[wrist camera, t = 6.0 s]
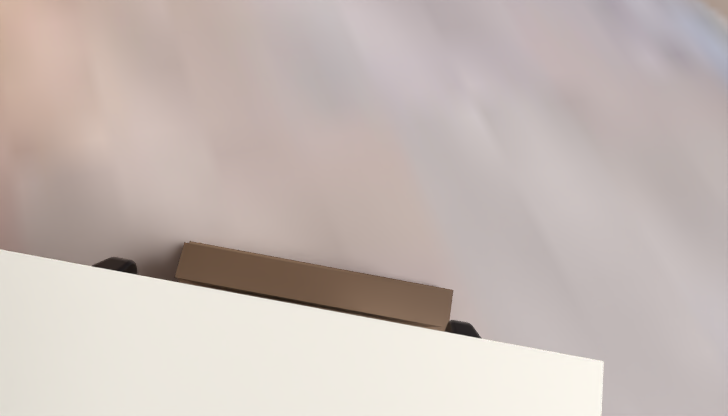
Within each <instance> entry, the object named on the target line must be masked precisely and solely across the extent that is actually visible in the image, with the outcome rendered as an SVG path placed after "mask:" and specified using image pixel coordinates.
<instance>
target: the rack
mask: <svg viewBox="0 0 728 416" xmlns="http://www.w3.org/2000/svg"><path fill="white" fill-rule="evenodd" d="M175 278H179V283H184V284H189V285H195V286H200V287H206V288H211V289H216V290H222V291H227V292H233V293H238V294H243V295H249V296H254V297H260V298H265V299H270V300H276V301H281V302H286V303H292V304H297V305H303V306H308V307H313V308H319V309H324V310H330V311H335V312H340V313H346V314H351V315H357V316H362V317H367V318H373V319H378V320H384V321H389V322H394V323H400V324H405V325H410V326H416V327H421V328H427V329H432V330H437V331H443V332H444V331H445V328H446V326H447V323H448V322H449V319H450V311H451V304H452V296H453V290H450V289H445V288H439V287H434V286H429V285H423V284H418V283H413V282H407V281H402V280H396V279H391V278H386V277H380V276H375V275H369V274H364V273H359V272H353V271H348V270H342V269H337V268H332V267H326V266H321V265H315V264H310V263H305V262H299V261H294V260H289V259H283V258H278V257H272V256H267V255H262V254H256V253H251V252H245V251H240V250H235V249H229V248H224V247H218V246H213V245H208V244H202V243H197V242H191V241H190V242H189V243H185V242H184V246H183V249H182V253H181V256H180V260H179V263H178V267H177V270H176V274H175Z"/></svg>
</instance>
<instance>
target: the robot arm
mask: <svg viewBox="0 0 728 416" xmlns="http://www.w3.org/2000/svg"><path fill="white" fill-rule="evenodd" d="M92 267H98V268H103V269H109V270H114V271H119V272H125V273H130V274H136V275H138V274H137V266H136V264H135V262H134V261H132V260H128V259H123V258H118V257H111V258H108V259H106V260H104V261H101V262H99V263H97V264H95V265H92ZM444 332H448V333H454V334H459V335H464V336H470V337H475V338H481V337H480V336H479V334H478V333H477V331H476V330H475V329H474V327H473V326H472V325H471V324H470V323H467V322H461V321H456V320H451V321H449V322H448V323H447V326H446V328H445V331H444ZM481 339H482V338H481Z"/></svg>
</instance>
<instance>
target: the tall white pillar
mask: <svg viewBox="0 0 728 416" xmlns="http://www.w3.org/2000/svg"><path fill="white" fill-rule="evenodd" d="M603 365H604V361H599V360H594V359H588V358H583V357H578V356H572V355H567V354H561V353H556V352H551V351H545V350H540V349H534V348H529V347H524V346H518V345H513V344H508V343H502V342H497V341H491V340H486V339H481V338H475V337H470V336H464V335H459V334H454V333H448V332H443V331H437V330H432V329H427V328H421V327H416V326H410V325H405V324H400V323H394V322H389V321H384V320H378V319H373V318H367V317H362V316H357V315H351V314H346V313H340V312H335V311H330V310H324V309H319V308H313V307H308V306H303V305H297V304H292V303H286V302H281V301H276V300H270V299H265V298H260V297H254V296H249V295H243V294H238V293H233V292H227V291H222V290H216V289H211V288H206V287H200V286H195V285H189V284H184V283H179V282H173V281H168V280H163V279H157V278H152V277H146V276H141V275H136V274H130V273H125V272H119V271H114V270H109V269H103V268H98V267H92V266H87V265H82V264H76V263H71V262H65V261H60V260H55V259H49V258H44V257H39V256H33V255H28V254H22V253H17V252H12V251H6V250H1V249H0V416H601V412H602V389H603Z"/></svg>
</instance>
